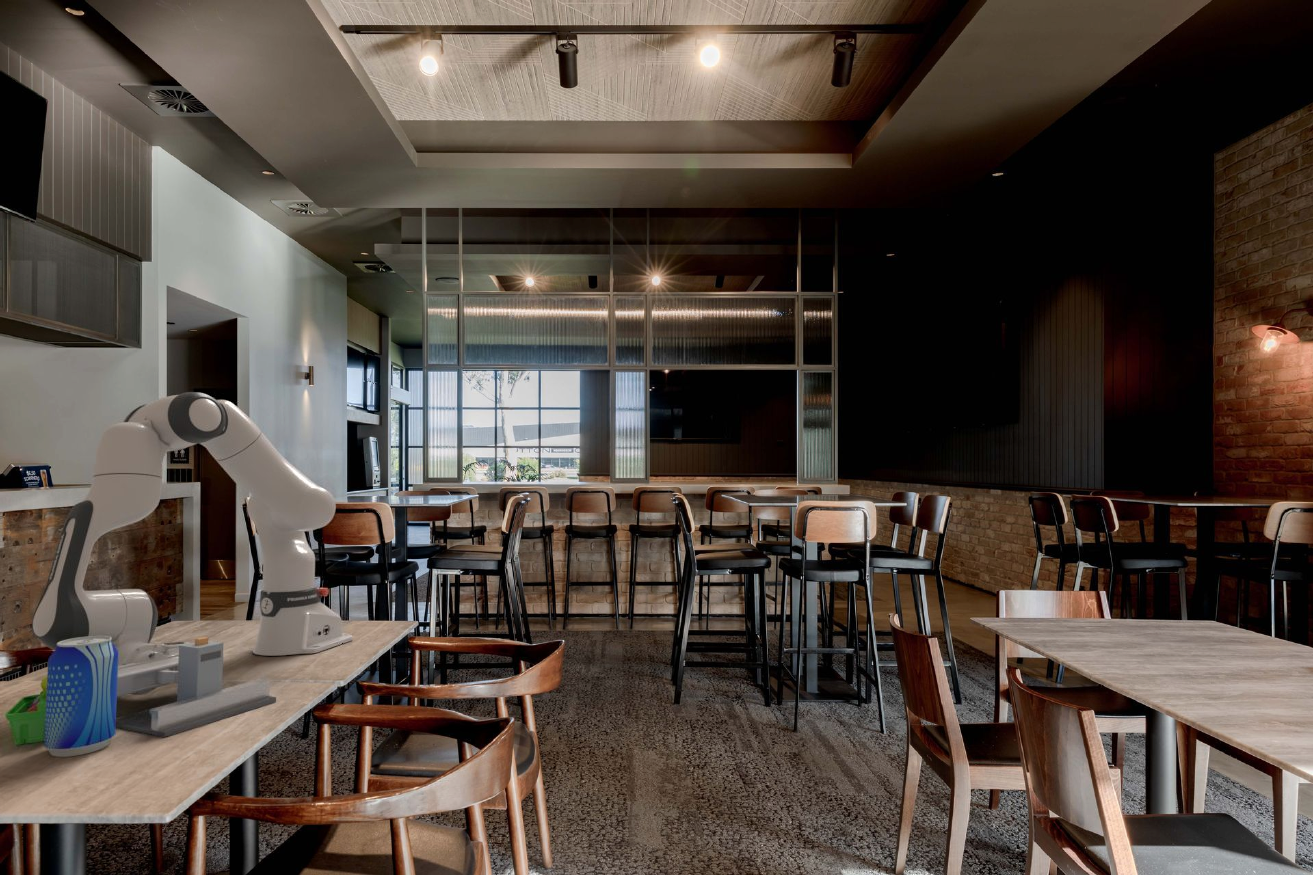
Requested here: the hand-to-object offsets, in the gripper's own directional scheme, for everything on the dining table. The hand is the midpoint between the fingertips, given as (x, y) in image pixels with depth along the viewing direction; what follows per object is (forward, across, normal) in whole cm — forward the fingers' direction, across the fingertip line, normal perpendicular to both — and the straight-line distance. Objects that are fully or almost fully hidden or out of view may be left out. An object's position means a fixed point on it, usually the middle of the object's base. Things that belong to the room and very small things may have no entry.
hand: (190, 676), depth 128 cm
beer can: (+2, -18, +6) cm, 19 cm away
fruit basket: (-10, -16, +6) cm, 20 cm away
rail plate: (+2, 0, +6) cm, 6 cm away
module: (+2, 0, +5) cm, 6 cm away
